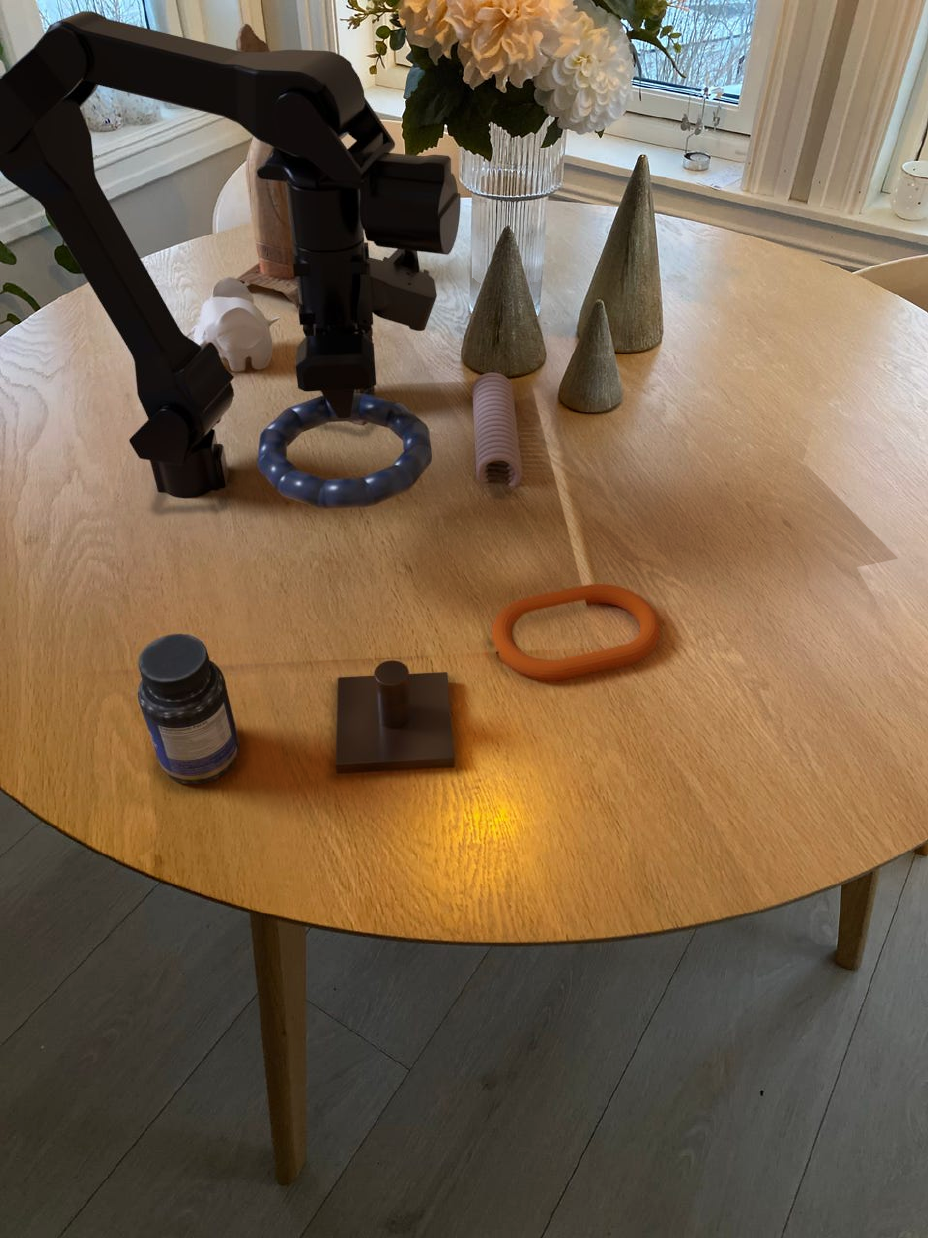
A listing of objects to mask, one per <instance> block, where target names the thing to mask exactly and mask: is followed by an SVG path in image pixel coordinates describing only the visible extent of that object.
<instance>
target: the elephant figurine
mask: <svg viewBox="0 0 928 1238" xmlns="http://www.w3.org/2000/svg"><path fill="white" fill-rule="evenodd" d="M280 320H281V317H280V316H278V317H273V318H269V319H267V318H266V317H265V315H264V313H263V312H262V311H261V309H259V308H258V307H257V305H255V299H254V297H253V295H252V293H251V292H250V290H249V289H248V287H247V286H246V285H245V283H244V284H243V283H241V282H240V281H239V280H237V279H236V278H235V277H232V276H227V277H224V278H222V279H220V280H219V281H217V282H216V283H215V285H214V286H213V287H212V291H211V295H210V297H209V298H208V299H206V300H205V302H204V303H203V304H202V306H201V309H200V315H199V319H198V322H197V324H195V325H194V326H193V327H192V329H190V331H188V332H187V333H186V335H185V336H186V337H188V338H190V337H191V336H192V335H193V341H194V342H195V343H197V344H198V345H200V346H203V345H205V344H207V343H209V342H211V343H213V344H214V345H215V347H216V348H217V350H218V353H219V355H222V356H223V357H224V358H225V359H226V360H227V361H228V364H229V368H230V370H231V371H232V372H235V373H239V372H243V371H245V370H246V367H247V366H246V359H247V358H248V357H250V360H251V361H250V363H251V364H250V365H251V367H252V368H253V369H255V370H259V371H260V370H263V369H266V368H267V367H269V364H270V361H271V359H272V356H273V350H274V349H273V348H274V347H273V346H274V345H273V344H274V343H273V338H272V334H271V333H272V332H271V329H270V327H271V326H272V325H273V324H274V323H276V322H277V321H280Z"/></svg>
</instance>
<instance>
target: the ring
mask: <svg viewBox="0 0 928 1238" xmlns="http://www.w3.org/2000/svg"><path fill="white" fill-rule="evenodd" d="M348 421H365V423H368V424H373V425H375V426H380V427H384V428H386V429H389V430H390V431H391V432H392V433H393V434H395V435H396V436H397V437H398V438H399V439H400V440H402V449H403V452H402V453H401V454H400V455H399V456H398V458H397V459H396V460H395V461H394V463H393V464H391V465H390V466H388V467H385V468H383V469H380V470H379V471H376V472H374V473H371V474H368V475H366V476H363V477H349V478H331V479H330V478H329V479H326V478H324V477H320V476H316V475H313V474H310V473H307V472H304V471H300V470H299V469H298V468H296V467H295V465H294V464H292V462H290V460H289V459H288V447H289V446H290V445H291V444H292V443H293V442H294V441H295V440H296V439H297V438H299V436H300V435H301V434H302V433H305V432H307V431H309V430H312V429H314V428H317V427H320V426H323V425H325V424H328V423H339V422H348ZM257 451H258V453H257V468H258V471H259V472H260V474H262V476H263V477H264V478H265V479H266V480H267V481H268V482H269V483H270V484H271V486H273V488H274V489H275V490H276V491H277V492H278V493H279V494H280V495H281V496H282V497H284V498H286V499H290V500H292V501H296V502H298V503H303V504H305V505H309V506H312V507H315V508H319V509H322V510H337V509H355V508H369V507H373V506H375V505H378V504H381V503H382V502H384V501H385V502H386V501H387V500H389V499H392V498H395V497H396V496H399V495H401V494H403V493H406V492H408V491H410V490H411V489H412V488H413V486H414V485H415V484H416V483H417V481H418V480H419V479H420V477H421V476H422V475H423V474H424V472H425V471H426V470H427V469H428V468H429V466H430V465H431V463H432V460H433V451H432V441H431V434H430V429H429V426H428V425H427V424H426V423H425V421H422V420H421V418H420V417H418V416H417V415H415V413H413V412H412V411H411V410H410V409H409V408H408V407H406V406H405V405H404V404H402V403H400V402H397V401H394V400H391V399H386V398H382V397H380V396H376V397H375V396H372V395H368V394H354V395H353V402H352V408H351V414H350V417H349V418H338V417H337V416H336V414H335V413H334V411H333V409H332V408H331V406H330V405H329V403H328V402H327V400H326V399H325V397H324V396H323V395H320V396H317V397H314V398H311V399H309V400H307V401H303V402H301V403H298V404H295V405H292V406H290V407H287V408H285V409H284V410H282V412H281V413H280V414H278V416H277V417H276V418H274V420H273V421H271V422H270V423H269V425H267V427H265V428H264V429H263V430H262V432H261V433H260V434H259V440H258V450H257Z"/></svg>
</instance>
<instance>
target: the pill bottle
mask: <svg viewBox="0 0 928 1238" xmlns="http://www.w3.org/2000/svg"><path fill="white" fill-rule="evenodd" d="M207 649H208V648H207V647H206V645H205V643H203V641H202V640H201V639H199V638H198V637H196V636H194V635H191V634H186V633H172V634H167V635H164V636H161V637H159V638H157V639H154V640H153V641H151V642H149V643H148V644H147V645H145V647H144V648H143V650H142V651H141V652H140V655H139V657H138V663H137V664H138V669H139V672H140V677H141V680H140V682H139V684H138V689H137V700H138V703H139V706H140V709H141V712H142V715H143V718H144V722H145V725H146V727H147V730H148V733H149V736H150V739H151V742H152V745H153V748H154V752H155V754H156V757H157V760H158V763H159V766H160V768H161V770H162V771H163V772H164V773H166V775H167V777H168V778H169V779H171V780H172V781H174V782H176V783H179V784H183V785H202V784H207V783H210V782H213V781H216V780H217V779H218V778H221V777H222V776H223V775H225V774H226V773H227V772H228V771H230V769H231V768H232V767H233V766H234V764H235V763H236V760H237V758H238V755H239V751H240V740H239V736H238V731H237V727H236V723H235V717H234V713H233V710H232V706H231V701H230V697H229V696H230V695H229V692H228V689H227V688H228V687H227V683H226V679H225V676H224V673H223V672H222V670H221V668H220V667H219V666H218V665H217V664H216V663H215V662H214V661H212V660H210V656H209V654H208V650H207Z"/></svg>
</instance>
